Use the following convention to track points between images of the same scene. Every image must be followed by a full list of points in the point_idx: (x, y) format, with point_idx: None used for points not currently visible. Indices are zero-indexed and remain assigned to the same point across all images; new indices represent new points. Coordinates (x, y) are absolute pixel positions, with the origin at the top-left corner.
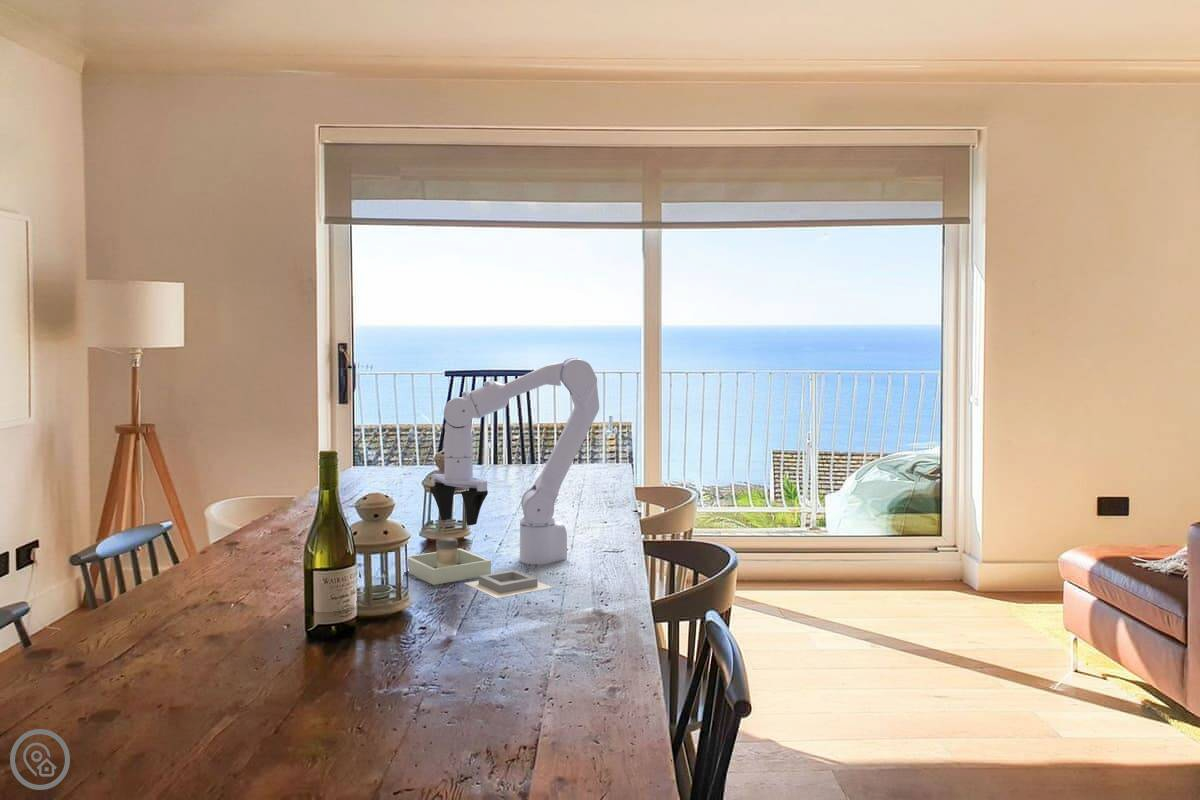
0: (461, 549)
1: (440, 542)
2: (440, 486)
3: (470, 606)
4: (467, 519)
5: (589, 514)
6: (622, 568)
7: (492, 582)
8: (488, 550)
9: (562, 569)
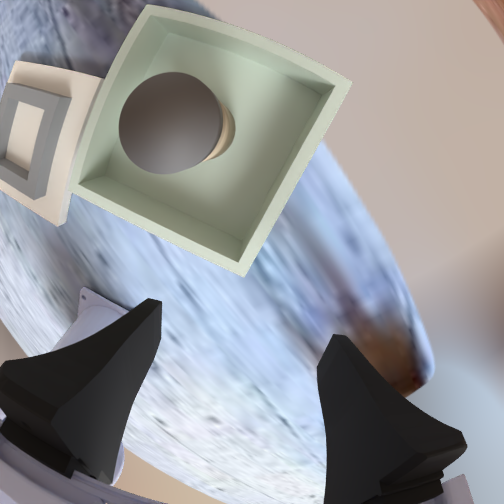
0: (229, 264)
1: (169, 76)
2: (398, 488)
3: (53, 21)
4: (139, 310)
5: (257, 498)
6: (32, 350)
7: (22, 86)
8: (279, 389)
9: (67, 323)
